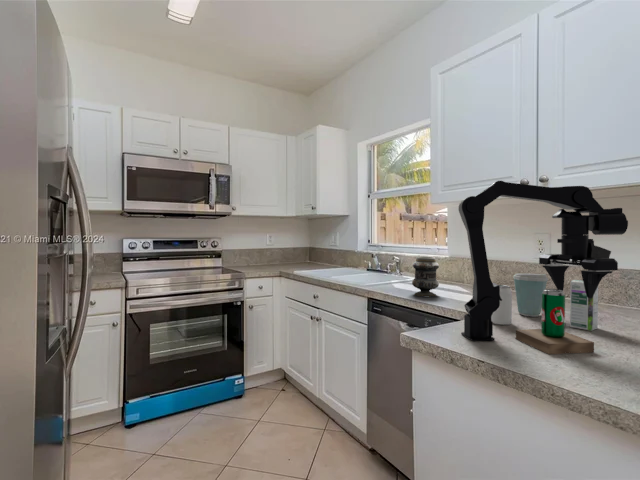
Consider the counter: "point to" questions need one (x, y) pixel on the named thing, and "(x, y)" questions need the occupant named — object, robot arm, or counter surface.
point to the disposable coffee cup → (529, 293)
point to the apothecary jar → (425, 275)
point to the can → (503, 307)
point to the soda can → (553, 313)
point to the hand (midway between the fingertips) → (574, 294)
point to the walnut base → (555, 342)
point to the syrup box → (583, 307)
